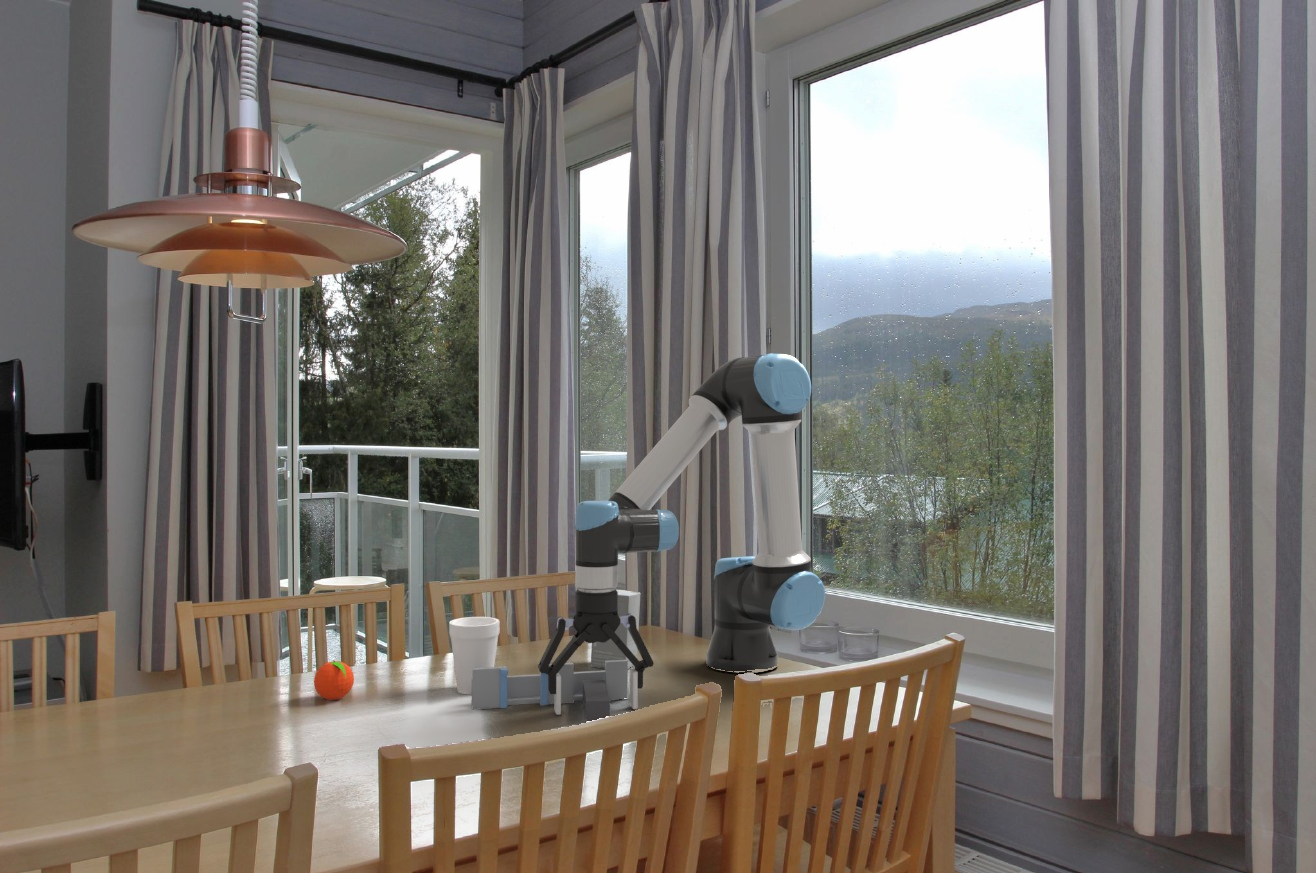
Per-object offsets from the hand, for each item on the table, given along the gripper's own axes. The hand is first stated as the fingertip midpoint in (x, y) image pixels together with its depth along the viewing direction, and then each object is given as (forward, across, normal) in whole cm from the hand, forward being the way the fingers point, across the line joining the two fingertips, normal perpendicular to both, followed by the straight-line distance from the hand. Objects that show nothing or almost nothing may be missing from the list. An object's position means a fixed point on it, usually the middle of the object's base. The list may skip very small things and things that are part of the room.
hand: (596, 709), depth 165 cm
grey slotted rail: (0, +7, -8) cm, 11 cm away
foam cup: (0, +20, -19) cm, 28 cm away
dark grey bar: (0, 0, 0) cm, 0 cm away
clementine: (0, +45, -18) cm, 49 cm away
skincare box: (0, -10, -31) cm, 33 cm away
